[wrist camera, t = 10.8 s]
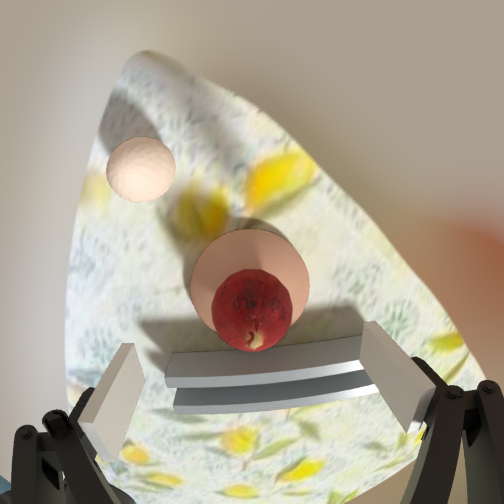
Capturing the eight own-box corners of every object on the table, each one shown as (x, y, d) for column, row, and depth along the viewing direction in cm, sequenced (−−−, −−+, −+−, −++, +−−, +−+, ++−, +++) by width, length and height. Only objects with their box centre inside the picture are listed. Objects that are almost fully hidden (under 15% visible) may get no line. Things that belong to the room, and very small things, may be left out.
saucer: (200, 339, 26) (199, 345, 25) (185, 234, 24) (183, 236, 23) (306, 330, 27) (309, 335, 26) (305, 224, 24) (308, 226, 23)
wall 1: (181, 388, 28) (175, 413, 24) (179, 379, 28) (172, 405, 24) (367, 368, 28) (380, 391, 25) (368, 360, 28) (383, 382, 24)
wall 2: (174, 362, 27) (167, 387, 23) (172, 352, 27) (164, 377, 23) (371, 342, 28) (387, 363, 24) (372, 332, 27) (389, 353, 23)
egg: (136, 205, 23) (98, 217, 16) (124, 152, 22) (82, 145, 15) (188, 190, 23) (167, 196, 16) (176, 135, 22) (150, 118, 15)
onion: (213, 257, 23) (203, 296, 16) (285, 256, 24) (308, 295, 16) (216, 322, 25) (209, 379, 17) (282, 321, 25) (299, 377, 17)
